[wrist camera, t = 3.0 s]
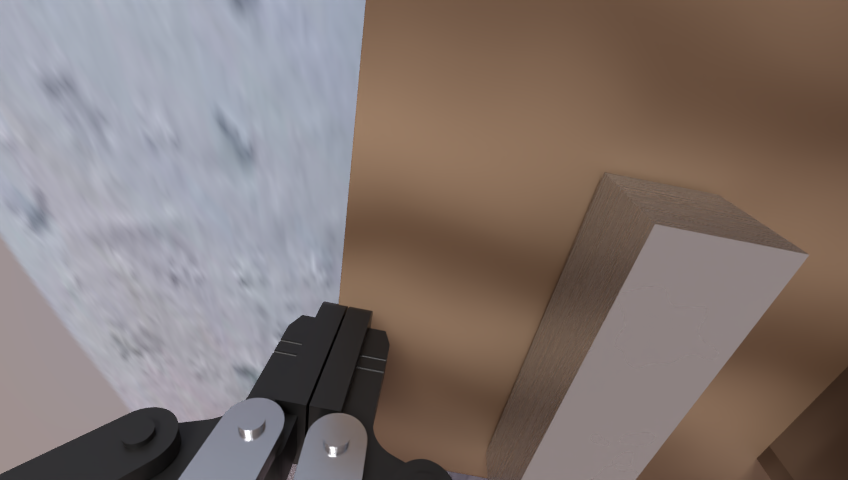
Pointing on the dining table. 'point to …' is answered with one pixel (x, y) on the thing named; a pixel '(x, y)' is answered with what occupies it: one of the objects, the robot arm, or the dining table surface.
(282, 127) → the dining table surface
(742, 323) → the bar
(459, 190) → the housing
